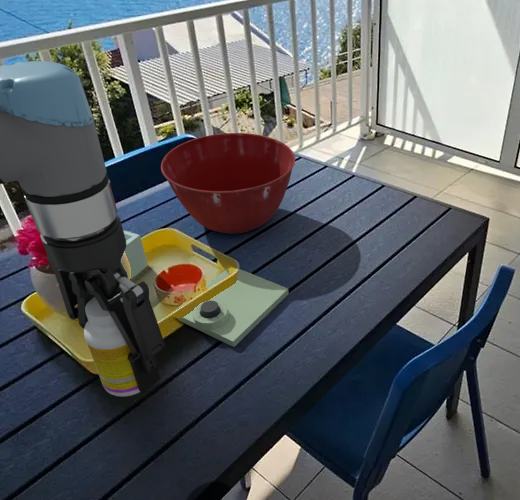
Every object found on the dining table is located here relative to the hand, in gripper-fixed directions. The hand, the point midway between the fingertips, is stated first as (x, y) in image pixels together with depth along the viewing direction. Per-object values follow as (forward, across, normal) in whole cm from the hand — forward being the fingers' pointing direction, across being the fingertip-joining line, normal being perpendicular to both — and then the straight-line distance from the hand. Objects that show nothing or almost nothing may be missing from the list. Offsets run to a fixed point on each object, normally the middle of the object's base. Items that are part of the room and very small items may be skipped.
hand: (129, 372), depth 64 cm
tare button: (+9, +7, -21) cm, 24 cm away
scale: (+12, +7, -26) cm, 30 cm away
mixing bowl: (+12, +26, -50) cm, 58 cm away
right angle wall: (+12, +35, -20) cm, 42 cm away
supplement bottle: (+1, 0, 0) cm, 1 cm away
